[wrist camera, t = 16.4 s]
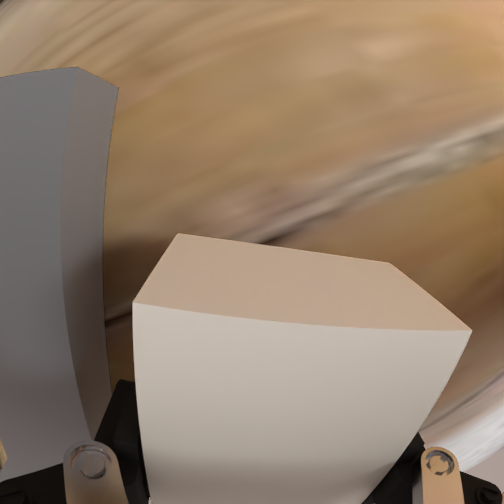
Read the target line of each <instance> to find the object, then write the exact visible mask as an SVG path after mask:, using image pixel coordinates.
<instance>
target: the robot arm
mask: <svg viewBox="0 0 504 504" xmlns="http://www.w3.org/2000/svg"><path fill="white" fill-rule="evenodd" d="M424 444H425V443H424V442H423V440H422V438H421V436H420V435H419V433H418V432H417V433H416V435H415V436H414V438H413V439H412V441H411V442H410V444H409V445H408V446H407V448H406V449H405V451H404V452H403V453H402V455H401V456H400V457H399V459H398V460H397V461H396V463H395V464H394V465H393V467H392V468H391V469H390V470H389V472H388V473H387V474H386V475H385V477H384V478H383V479H382V480H381V482H380V483H379V484H378V485H377V486H376V488H375V489H374V490H373V491H372V492H371V493H370V495H369V496H368V497H367V498H366V499H365V500H364V501H363V502H362V503H361V504H504V492H503V493H502V494H501V491H500V490H499V488H498V487H497V486H496V485H494V484H492V483H490V482H488V481H485V480H482V479H479V478H477V477H474V476H471V475H469V474H466V473H464V472H461V471H459V465H458V462H457V459H456V457H455V456H454V455H453V454H452V453H451V452H450V451H449V450H447V449H444V448H441V447H431V448H428V449H426V450H425V448H424V446H423V445H424ZM149 497H150V492H149V487H148V481H147V476H146V470H145V463H144V457H143V450H142V442H141V435H140V426H139V417H138V408H137V397H136V384H135V379H134V382H131V381H127V380H122V379H120V380H119V381H118V383H117V385H116V387H115V390H114V392H113V394H112V397H111V399H110V402H109V404H108V406H107V409H106V411H105V414H104V416H103V419H102V421H101V424H100V426H99V429H98V431H97V434H96V436H95V439H94V441H90V440H86V441H79V442H77V443H75V444H72V445H71V446H70V447H69V448H68V449H67V450H66V452H65V454H64V458H63V463H60V464H57V465H54V466H51V467H48V468H45V469H42V470H39V471H35V472H32V473H29V474H25V475H22V476H18V477H14V478H11V479H7V480H4V481H2V482H0V504H148V501H149Z"/></svg>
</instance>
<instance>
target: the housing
mask: <svg viewBox="0 0 504 504" xmlns="http://www.w3.org/2000/svg"><path fill="white" fill-rule="evenodd" d="M118 89H119V88H118V87H116V86H115V85H113V84H111V83H109V82H107V81H105V80H103V79H101V78H99V77H97V76H95V75H93V74H91V73H89V72H87V71H85V70H83V69H81V68H79V67H70V68H60V69H51V70H43V71H35V72H29V73H22V74H17V75H11V76H6V77H1V78H0V439H1V442H2V444H3V447H4V450H5V452H6V455H7V457H8V458H7V460H6V462H5V464H4V466H3V468H2V469H1V471H0V482H2V481H4V480H7V479H11V478H14V477H18V476H22V475H25V474H29V473H32V472H35V471H39V470H42V469H45V468H48V467H51V466H54V465H57V464H60V463H63V458H64V454H65V452H66V450H67V449H68V448H69V447H70V446H71V445H72V444H75V443H77V442H79V441H86V440H90V441H94V439H95V436H96V434H97V431H98V429H99V426H100V424H101V421H102V419H103V416H104V414H105V411H106V409H107V406H108V404H109V402H110V399H111V397H112V389H111V382H110V374H109V366H108V357H107V347H106V335H105V321H104V303H103V217H104V199H105V185H106V174H107V164H108V154H109V146H110V138H111V131H112V124H113V118H114V111H115V105H116V100H117V94H118Z"/></svg>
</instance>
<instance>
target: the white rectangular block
mask: <svg viewBox="0 0 504 504" xmlns="http://www.w3.org/2000/svg"><path fill="white" fill-rule="evenodd" d="M132 308H133V350H134V369H135V384H136V397H137V408H138V417H139V426H140V435H141V442H142V450H143V457H144V463H145V470H146V476H147V481H148V487H149V492H150V497H151V502H152V504H361V503H362V502H363V501H364V500H365V499H366V498H367V497H368V496H369V495H370V493H371V492H372V491H373V490H374V489H375V488H376V486H377V485H378V484H379V483H380V482H381V480H382V479H383V478H384V477H385V475H386V474H387V473H388V472H389V470H390V469H391V468H392V467H393V465H394V464H395V463H396V461H397V460H398V459H399V457H400V456H401V455H402V453H403V452H404V451H405V449H406V448H407V446H408V445H409V444H410V442H411V441H412V439H413V438H414V436H415V435H416V433H417V432H418V430H419V429H420V427H421V426H422V424H423V423H424V421H425V420H426V418H427V416H428V415H429V413H430V412H431V410H432V408H433V407H434V405H435V403H436V402H437V400H438V398H439V397H440V395H441V393H442V391H443V390H444V388H445V386H446V384H447V382H448V380H449V379H450V377H451V375H452V373H453V371H454V369H455V367H456V365H457V363H458V361H459V359H460V357H461V355H462V353H463V351H464V349H465V347H466V344H467V342H468V340H469V338H470V336H471V333H472V331H473V330H472V329H470V328H469V327H468V326H467V325H466V324H465V323H463V322H462V321H461V320H460V319H459V318H458V317H456V316H455V315H454V314H453V313H452V312H451V311H449V310H448V309H447V308H446V307H445V306H443V305H442V304H441V303H440V302H439V301H437V300H436V299H435V298H434V297H432V296H431V295H430V294H429V293H428V292H426V291H425V290H424V289H423V288H421V287H420V286H419V285H418V284H416V283H415V282H414V281H413V280H411V279H410V278H409V277H407V276H406V275H405V274H404V273H402V272H401V271H400V270H398V269H397V268H396V267H395V266H393V265H392V264H391V263H388V262H381V261H374V260H367V259H360V258H354V257H347V256H340V255H333V254H326V253H319V252H312V251H305V250H298V249H290V248H283V247H276V246H269V245H262V244H254V243H247V242H240V241H233V240H225V239H218V238H211V237H203V236H196V235H188V234H181V233H177V235H176V236H175V238H174V239H173V241H172V242H171V244H170V245H169V247H168V248H167V250H166V251H165V253H164V254H163V256H162V257H161V259H160V260H159V262H158V263H157V265H156V266H155V268H154V269H153V271H152V272H151V274H150V275H149V277H148V279H147V280H146V282H145V283H144V285H143V286H142V288H141V289H140V291H139V293H138V294H137V296H136V297H135V299H134V301H133V302H132Z"/></svg>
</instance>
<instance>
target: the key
mask: <svg viewBox="0 0 504 504" xmlns="http://www.w3.org/2000/svg"><path fill="white" fill-rule="evenodd" d="M7 458H8V457H7V455H6V452H5V450H4V447H3V444H2V442H1V439H0V471H1V469H2V468H3V466H4V464H5V462H6V460H7Z"/></svg>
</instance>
